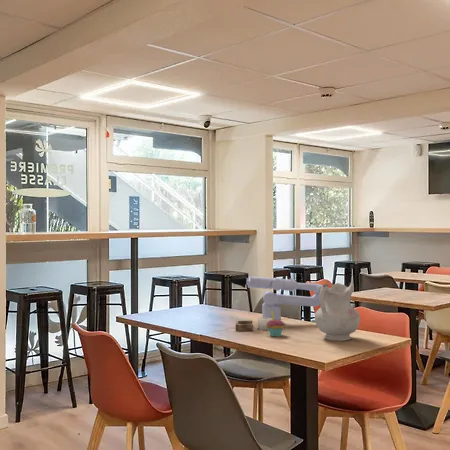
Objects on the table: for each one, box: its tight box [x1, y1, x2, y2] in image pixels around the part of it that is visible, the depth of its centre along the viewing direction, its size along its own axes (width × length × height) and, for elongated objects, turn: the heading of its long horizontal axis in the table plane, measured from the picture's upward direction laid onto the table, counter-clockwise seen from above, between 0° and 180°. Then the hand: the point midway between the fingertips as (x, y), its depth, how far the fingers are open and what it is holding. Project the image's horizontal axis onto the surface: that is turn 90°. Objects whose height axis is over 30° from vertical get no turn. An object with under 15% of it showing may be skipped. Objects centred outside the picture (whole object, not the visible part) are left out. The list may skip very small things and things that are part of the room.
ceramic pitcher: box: [314, 282, 361, 342], centre depth 247 cm, size 22×20×25 cm
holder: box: [235, 320, 254, 332], centre depth 272 cm, size 8×11×3 cm
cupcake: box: [266, 309, 286, 337], centre depth 256 cm, size 9×8×12 cm
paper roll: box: [257, 316, 272, 331], centre depth 272 cm, size 7×7×5 cm
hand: (232, 280), depth 290 cm, fingers open, 7 cm apart
